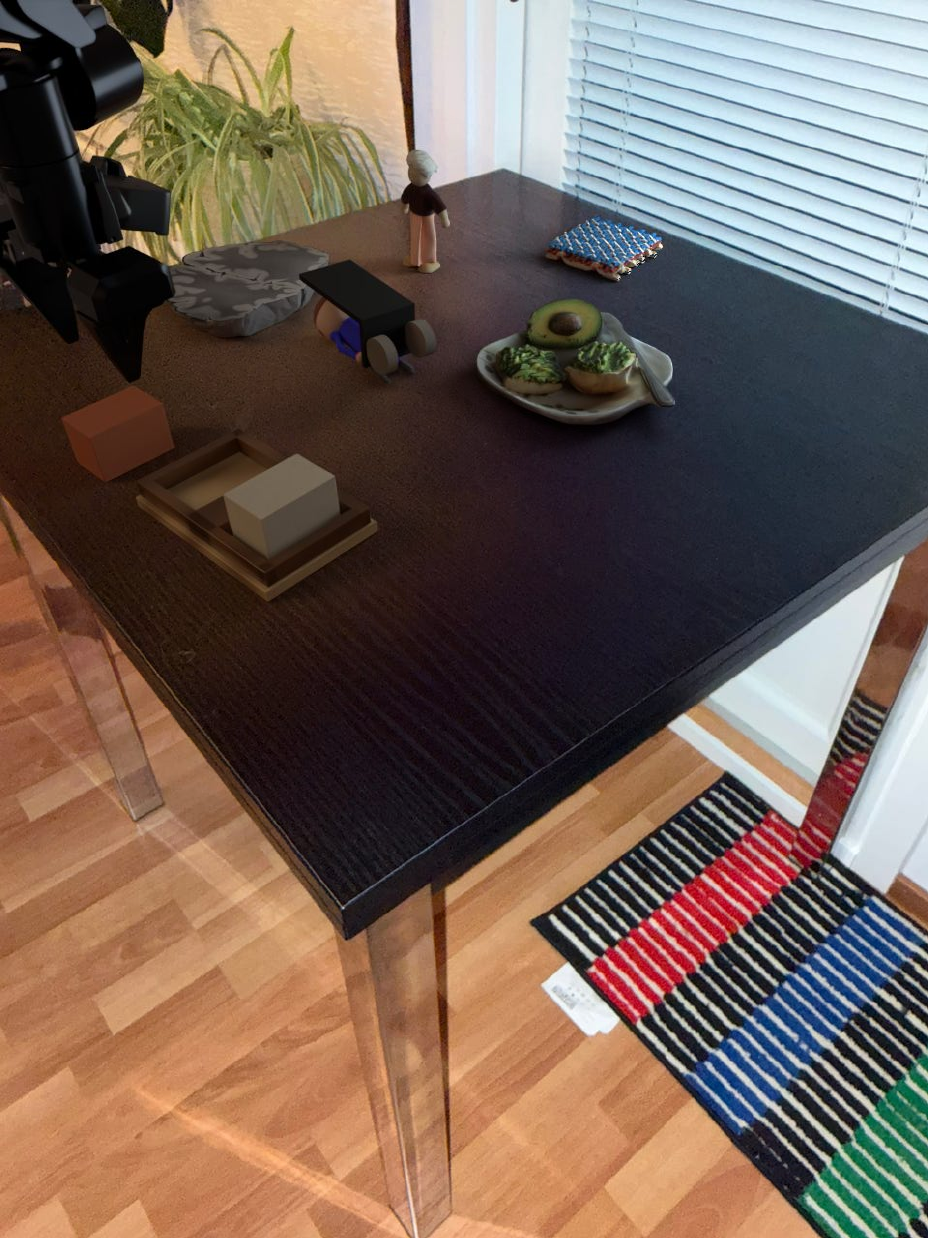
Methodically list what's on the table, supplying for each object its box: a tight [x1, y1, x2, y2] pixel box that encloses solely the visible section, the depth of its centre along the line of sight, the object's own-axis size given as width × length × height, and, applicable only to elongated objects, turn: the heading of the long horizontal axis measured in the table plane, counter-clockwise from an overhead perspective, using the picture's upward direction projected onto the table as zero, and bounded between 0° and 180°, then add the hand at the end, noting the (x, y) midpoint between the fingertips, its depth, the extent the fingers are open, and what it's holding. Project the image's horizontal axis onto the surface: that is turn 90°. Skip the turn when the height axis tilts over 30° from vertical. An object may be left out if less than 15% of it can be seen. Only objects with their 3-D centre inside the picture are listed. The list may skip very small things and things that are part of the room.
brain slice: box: [165, 240, 330, 339], centre depth 101 cm, size 20×17×3 cm
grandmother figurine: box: [398, 149, 451, 274], centre depth 103 cm, size 8×4×13 cm, turn 57°
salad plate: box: [475, 298, 676, 426], centre depth 87 cm, size 19×18×5 cm
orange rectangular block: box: [61, 385, 175, 483], centre depth 80 cm, size 7×4×4 cm, turn 137°
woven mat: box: [545, 216, 664, 282], centre depth 108 cm, size 10×11×2 cm
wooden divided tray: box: [135, 428, 378, 603], centre depth 74 cm, size 17×11×2 cm, turn 47°
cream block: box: [223, 453, 340, 560], centre depth 70 cm, size 7×4×4 cm, turn 137°
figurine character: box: [299, 259, 437, 385], centre depth 90 cm, size 7×8×15 cm
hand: (102, 360), depth 74 cm, fingers open, 9 cm apart
